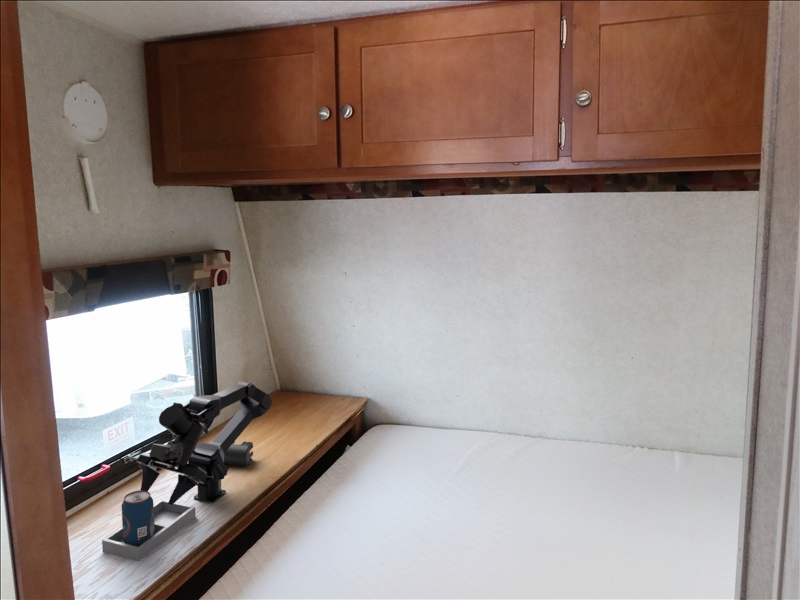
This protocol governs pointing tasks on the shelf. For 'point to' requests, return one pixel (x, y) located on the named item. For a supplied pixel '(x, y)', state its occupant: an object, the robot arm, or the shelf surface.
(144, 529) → the soda can
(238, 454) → the end cap
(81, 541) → the shelf surface
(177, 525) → the can carrier
